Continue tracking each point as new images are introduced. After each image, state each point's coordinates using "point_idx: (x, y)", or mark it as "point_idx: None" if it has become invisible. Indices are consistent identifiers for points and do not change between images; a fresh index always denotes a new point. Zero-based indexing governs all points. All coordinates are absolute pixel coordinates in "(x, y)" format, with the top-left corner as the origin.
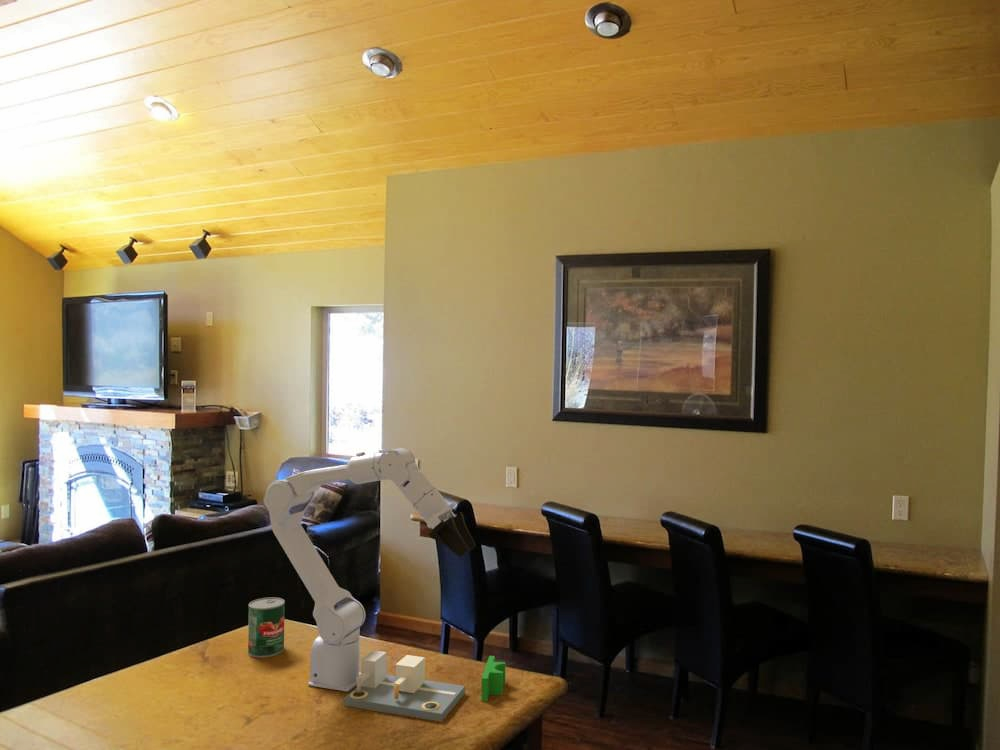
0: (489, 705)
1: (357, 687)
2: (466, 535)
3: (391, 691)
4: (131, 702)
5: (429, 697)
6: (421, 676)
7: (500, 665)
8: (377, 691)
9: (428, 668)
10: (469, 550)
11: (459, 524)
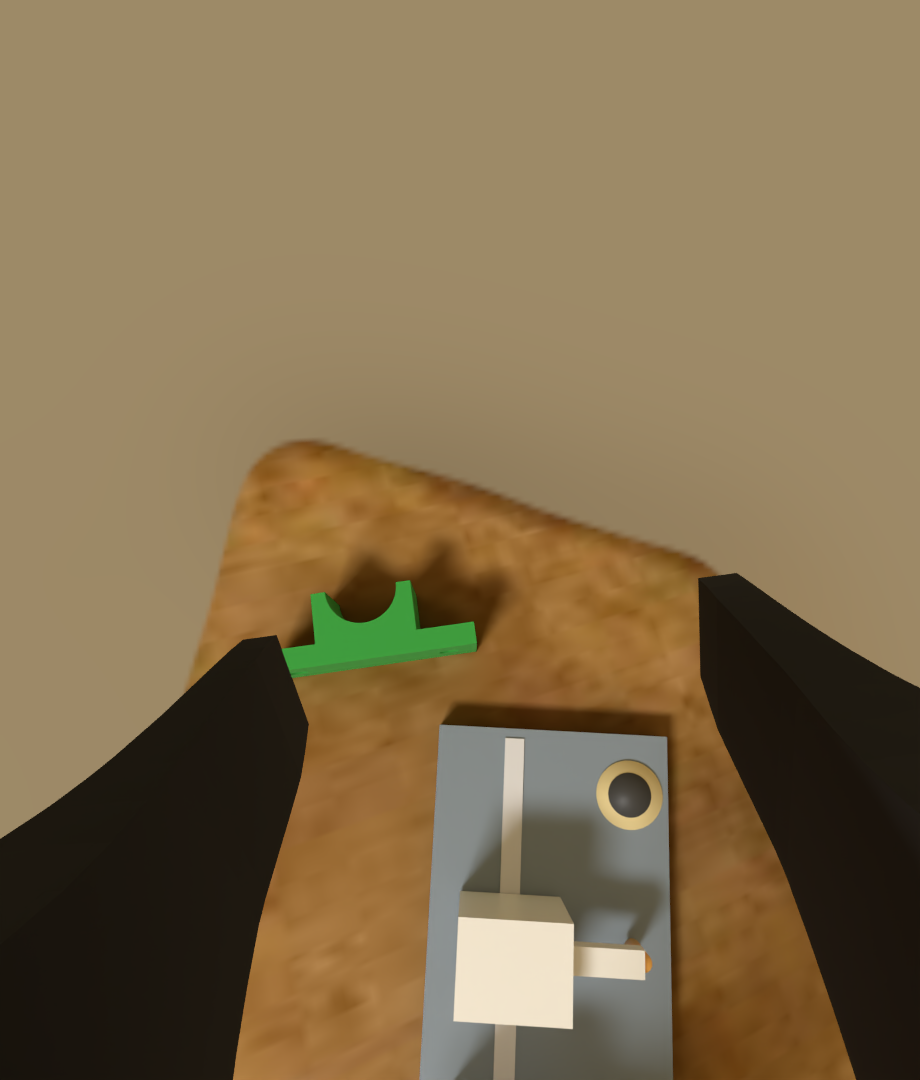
0: (501, 616)
1: None
2: (214, 763)
3: None
4: None
5: (566, 825)
6: (494, 901)
7: (331, 609)
8: (579, 1063)
9: (257, 950)
10: (300, 707)
11: (123, 930)
